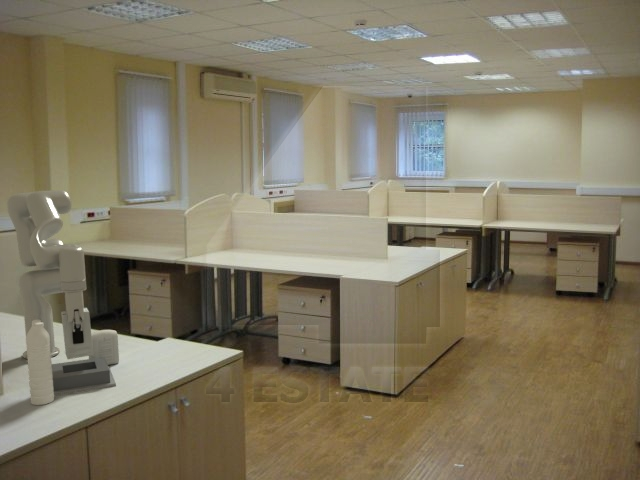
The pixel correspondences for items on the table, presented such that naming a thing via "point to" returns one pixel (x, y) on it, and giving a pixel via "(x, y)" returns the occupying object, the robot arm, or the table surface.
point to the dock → (81, 376)
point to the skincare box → (71, 348)
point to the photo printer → (105, 346)
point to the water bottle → (39, 364)
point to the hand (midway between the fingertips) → (77, 340)
